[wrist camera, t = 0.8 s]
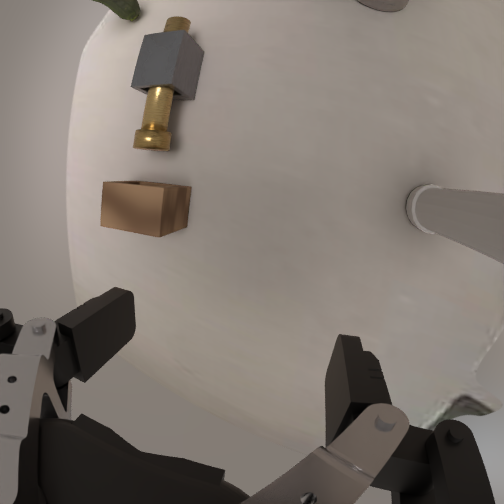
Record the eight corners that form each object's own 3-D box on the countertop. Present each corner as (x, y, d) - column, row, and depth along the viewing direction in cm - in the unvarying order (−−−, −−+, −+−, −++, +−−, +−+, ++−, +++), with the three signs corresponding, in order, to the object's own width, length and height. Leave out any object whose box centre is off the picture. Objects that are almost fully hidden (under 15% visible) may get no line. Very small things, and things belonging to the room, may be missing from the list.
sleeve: (168, 54, 30) (144, 35, 24) (204, 52, 29) (184, 29, 23) (158, 100, 32) (130, 86, 25) (194, 99, 31) (171, 83, 25)
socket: (137, 180, 35) (103, 181, 28) (191, 186, 33) (163, 187, 27) (133, 218, 36) (100, 226, 29) (186, 227, 35) (159, 237, 28)
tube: (170, 30, 27) (156, 17, 23) (200, 27, 27) (187, 12, 23) (145, 150, 31) (125, 147, 27) (175, 151, 31) (157, 148, 27)
